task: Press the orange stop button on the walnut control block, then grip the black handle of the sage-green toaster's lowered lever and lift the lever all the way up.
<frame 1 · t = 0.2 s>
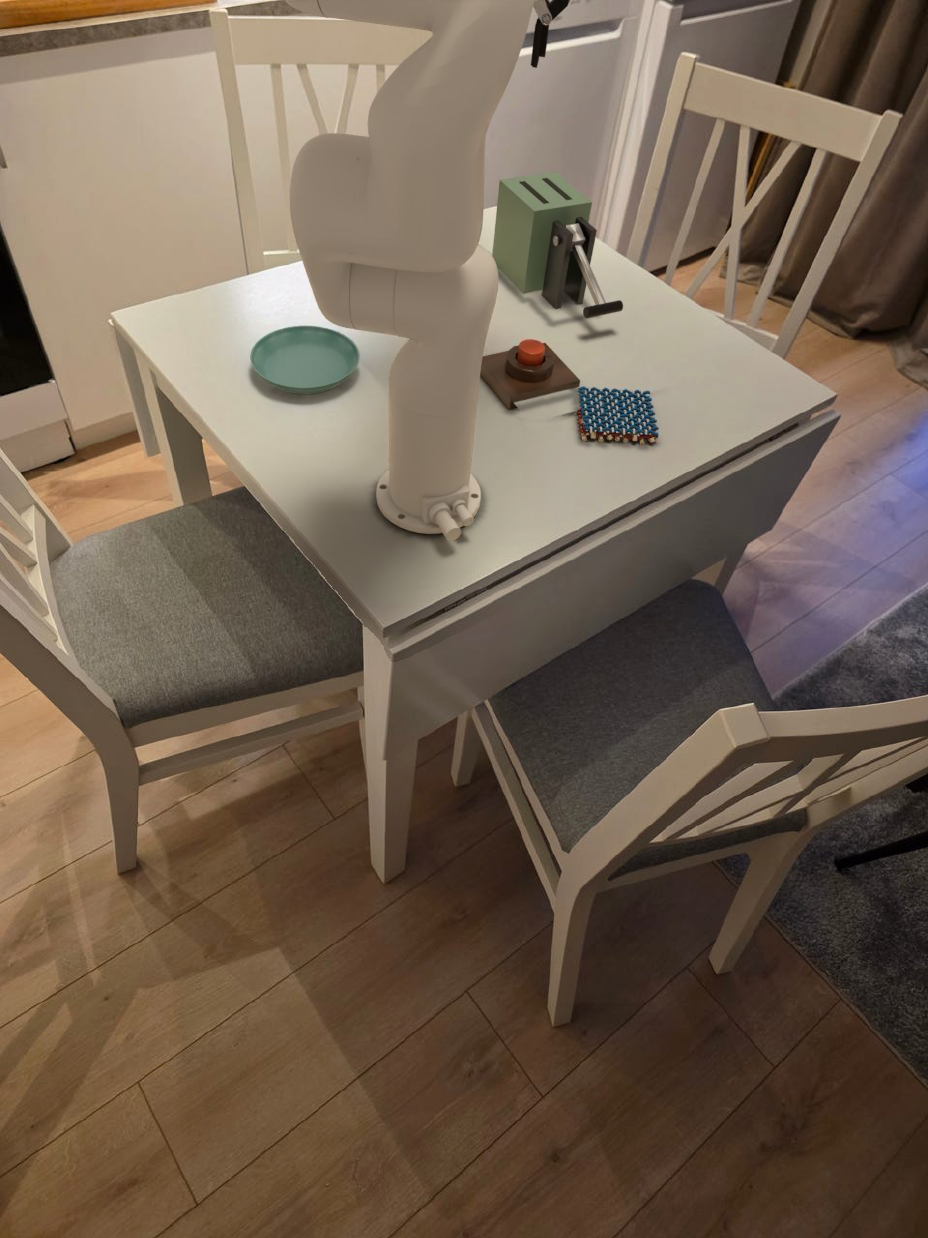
hand: (492, 57, 91), 37 cm above the table, tool pointing down, fingers open, 9 cm apart
button: (531, 352, 112), point 5 cm above the table, slide at 0.2 cm
bracket: (560, 306, 130), on the table
woven mat: (613, 421, 112), on the table
lever: (587, 271, 120), point 8 cm above the table, hinge at -28.0°
toaster: (533, 278, 135), on the table
donut: (374, 310, 125), on the table
control block: (526, 382, 116), on the table
saucer: (306, 372, 114), on the table
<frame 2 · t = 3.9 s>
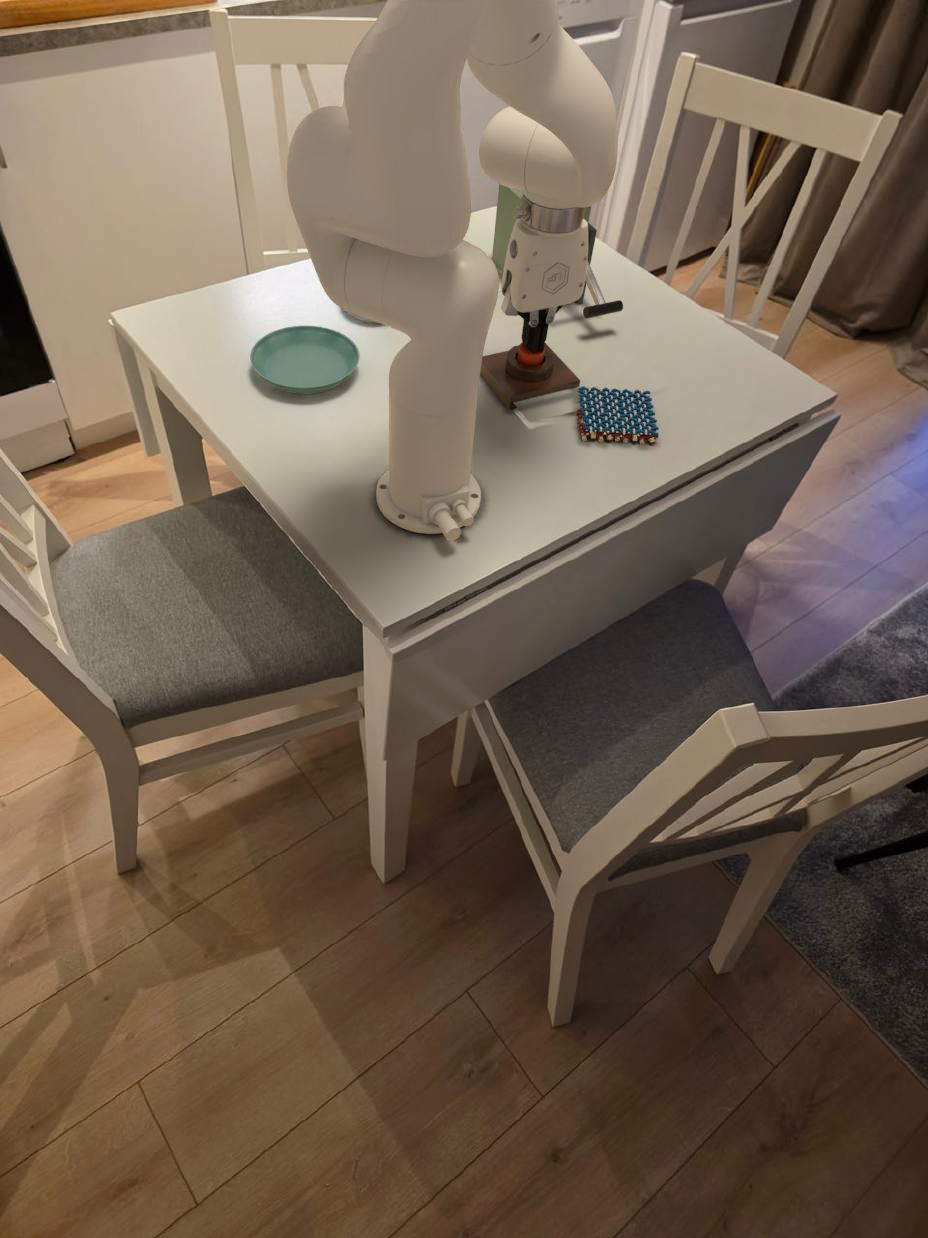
hand: (532, 346, 112), 6 cm above the table, tool pointing down, fingers closed
button: (530, 354, 112), point 4 cm above the table, slide at -0.1 cm, touching gripper
everything else where it was.
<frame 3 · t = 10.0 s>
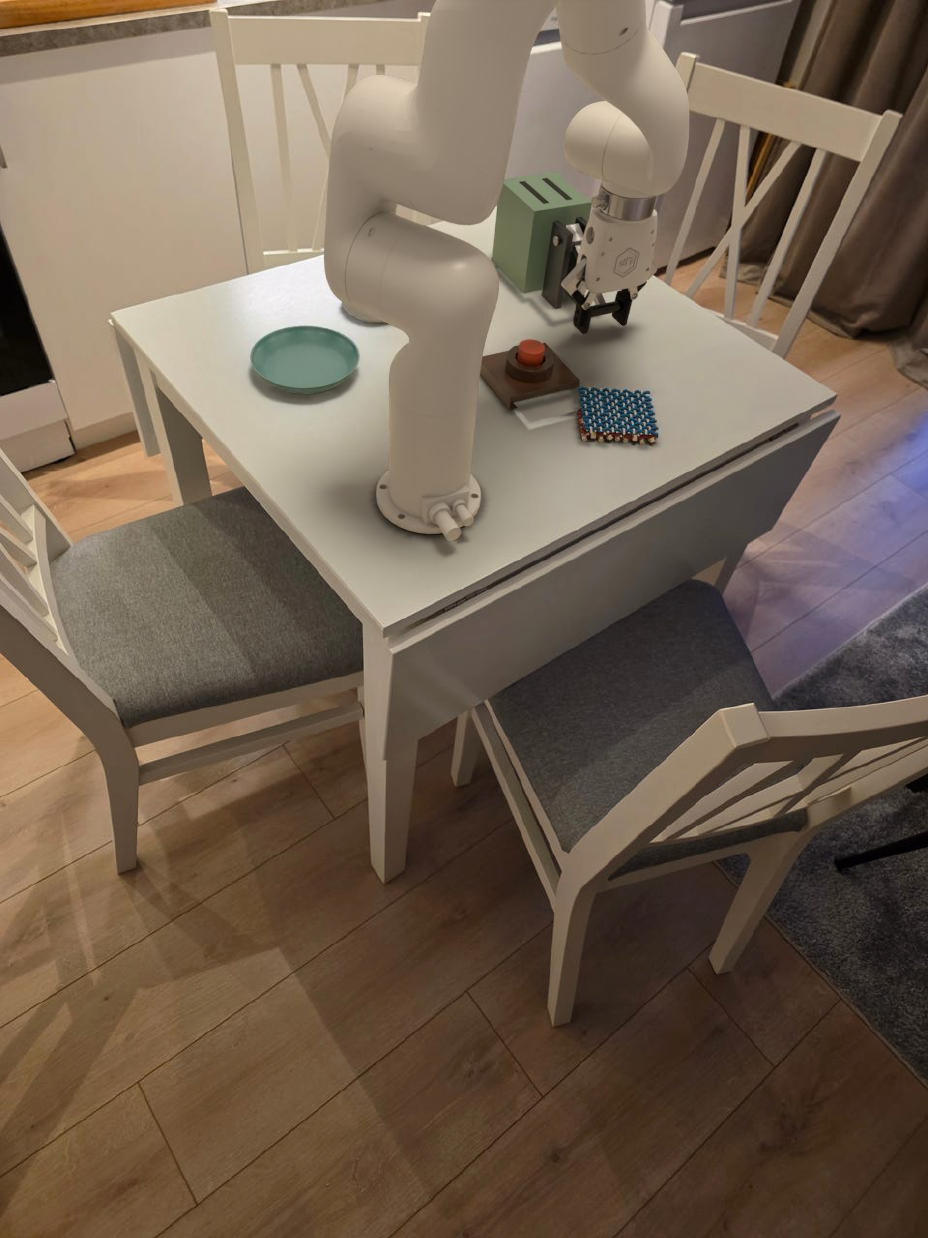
hand: (599, 324, 121), 3 cm above the table, tool pointing down, fingers closed on lever, 6 cm apart
button: (531, 352, 112), point 5 cm above the table, slide at 0.1 cm
lever: (587, 271, 120), point 8 cm above the table, hinge at -28.0°, touching gripper
everything else where it was.
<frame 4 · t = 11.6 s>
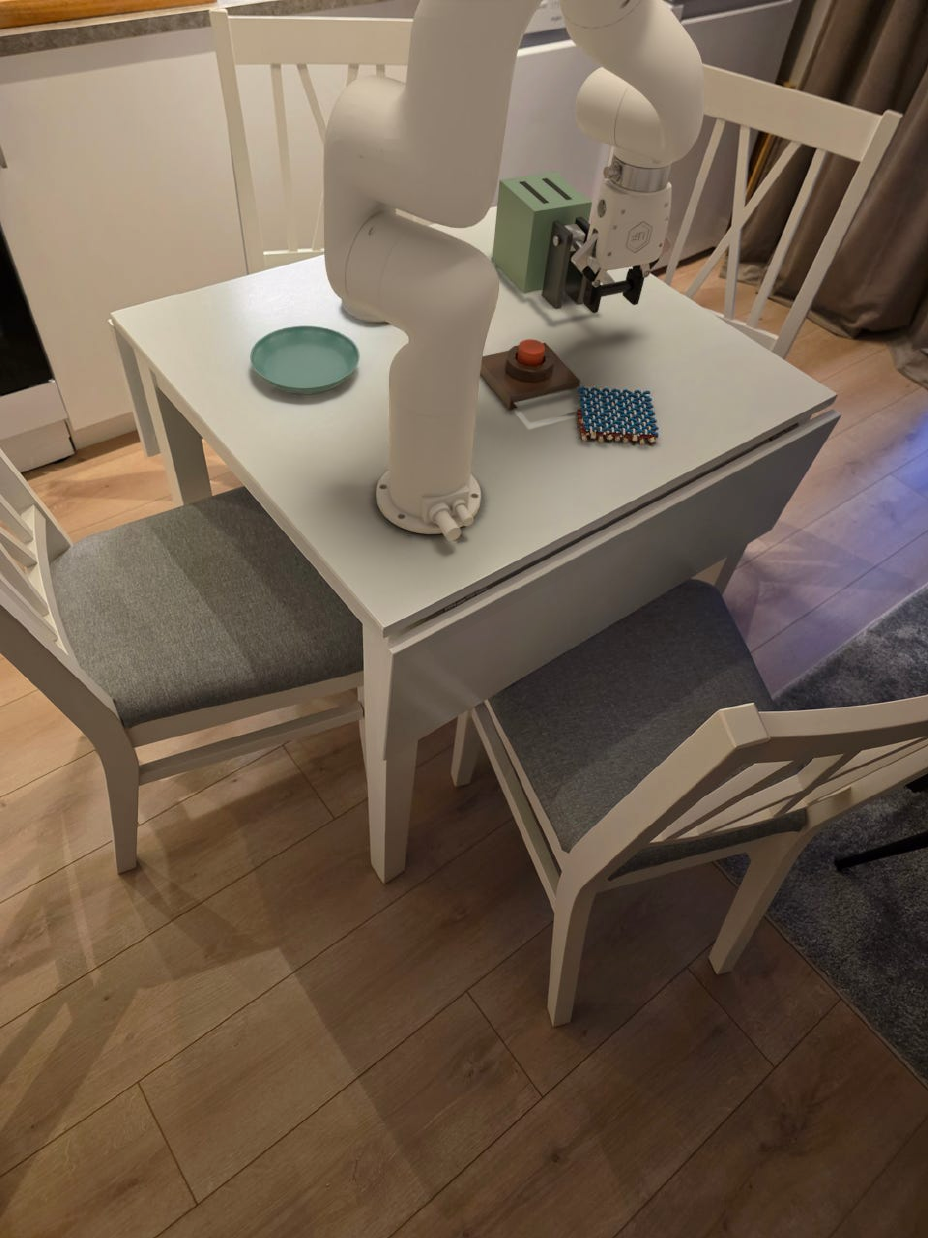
hand: (610, 303, 118), 7 cm above the table, tool pointing down, fingers closed on lever, 6 cm apart
lever: (591, 261, 119), point 10 cm above the table, hinge at -8.4°, touching gripper
everything else where it was.
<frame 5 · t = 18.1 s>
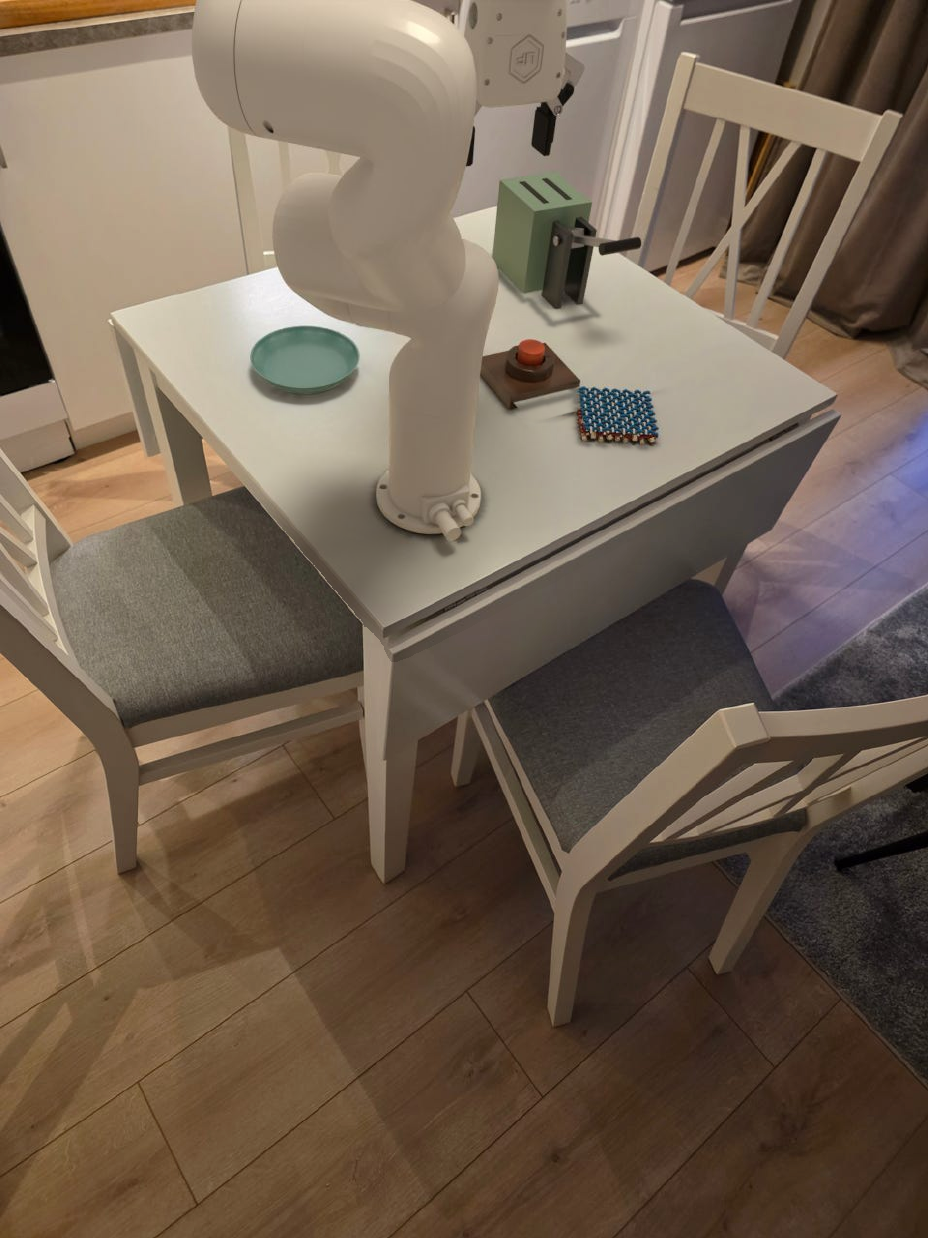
hand: (502, 156, 91), 30 cm above the table, tool pointing down, fingers open, 9 cm apart
lever: (594, 241, 117), point 13 cm above the table, hinge at 19.8°
everything else where it was.
at the end: lever at +20° (first picture: -28°); button pushed in 1.1 cm at the most during the clip, back to where it started at the end; button slide at 0.1 cm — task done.
